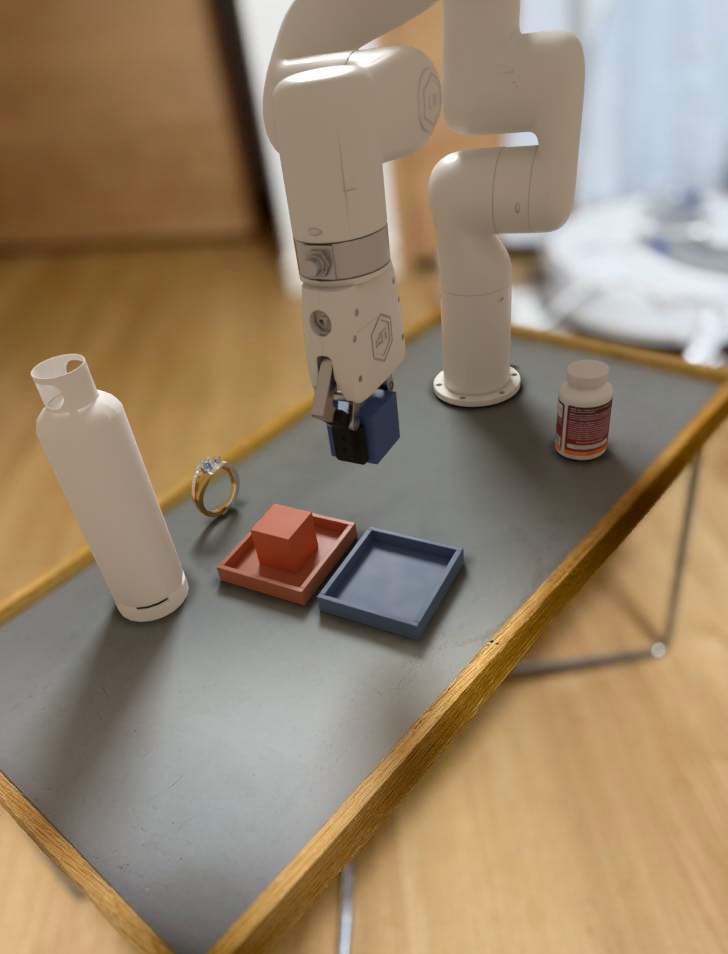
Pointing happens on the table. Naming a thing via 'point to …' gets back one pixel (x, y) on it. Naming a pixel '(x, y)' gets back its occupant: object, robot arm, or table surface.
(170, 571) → the bottle
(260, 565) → the terracotta tray
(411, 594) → the blue tray
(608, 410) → the pill bottle
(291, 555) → the terracotta block
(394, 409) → the blue block
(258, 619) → the table surface
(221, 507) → the ring
